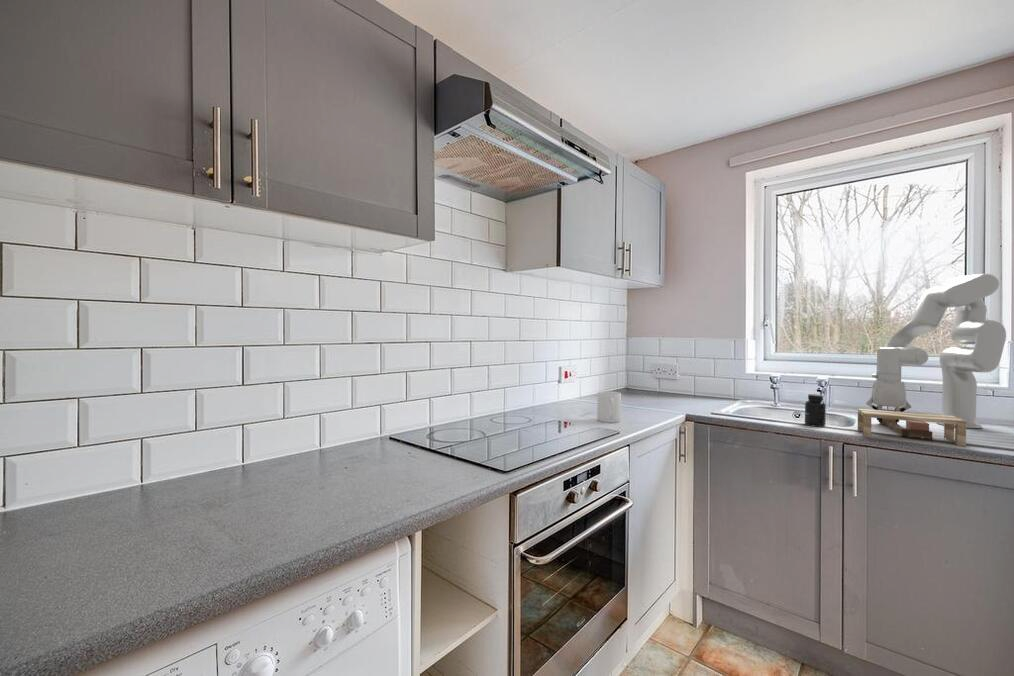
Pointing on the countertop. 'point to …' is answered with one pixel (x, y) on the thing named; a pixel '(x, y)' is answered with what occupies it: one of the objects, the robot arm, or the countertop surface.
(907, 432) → the crook
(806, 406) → the supplement bottle
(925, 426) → the cube
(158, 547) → the countertop surface
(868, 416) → the low bench
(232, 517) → the countertop surface
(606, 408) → the mug
